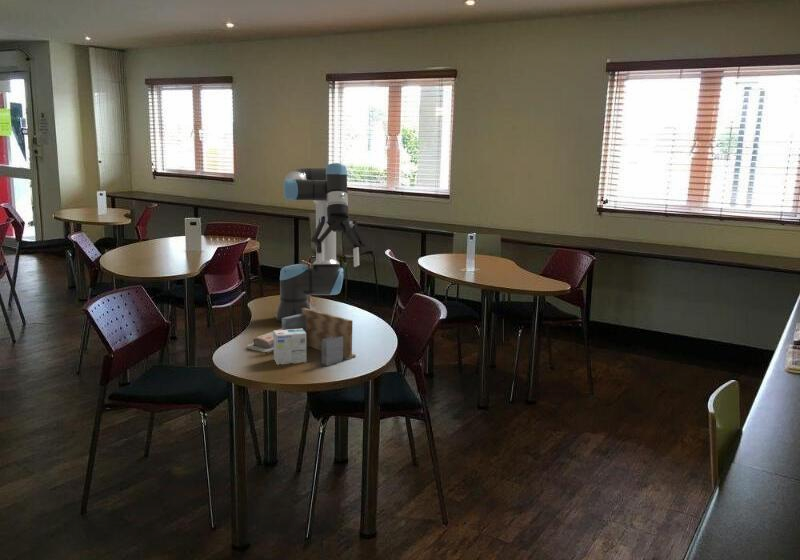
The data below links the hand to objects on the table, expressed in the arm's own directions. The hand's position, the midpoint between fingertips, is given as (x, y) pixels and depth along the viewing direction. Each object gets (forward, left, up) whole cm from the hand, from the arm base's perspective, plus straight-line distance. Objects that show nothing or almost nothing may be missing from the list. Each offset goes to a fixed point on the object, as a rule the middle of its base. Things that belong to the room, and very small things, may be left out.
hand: (339, 264), depth 228 cm
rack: (-8, -2, -34) cm, 35 cm away
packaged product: (-28, -7, -34) cm, 45 cm away
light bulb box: (-9, -15, -34) cm, 38 cm away
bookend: (+3, -6, -34) cm, 34 cm away
